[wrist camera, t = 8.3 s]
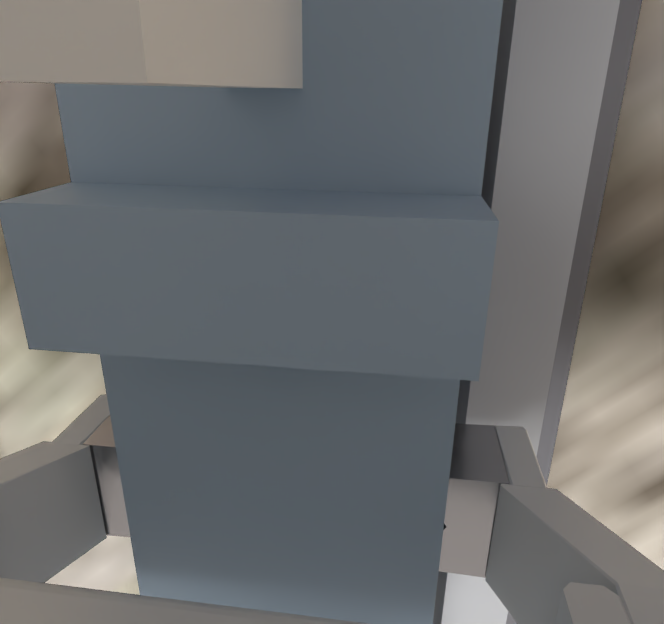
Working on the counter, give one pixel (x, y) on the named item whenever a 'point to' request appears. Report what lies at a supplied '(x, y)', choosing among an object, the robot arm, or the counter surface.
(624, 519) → the counter surface
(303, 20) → the pale blue tabbed body
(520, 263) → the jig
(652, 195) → the counter surface
